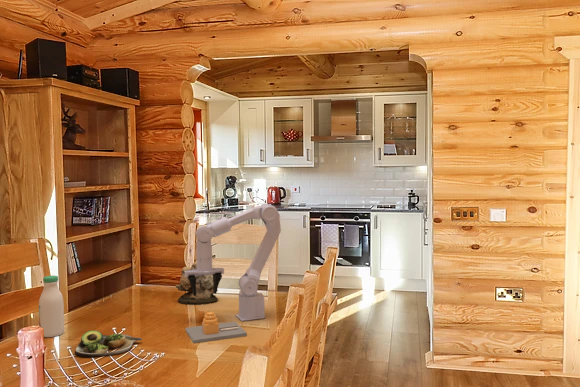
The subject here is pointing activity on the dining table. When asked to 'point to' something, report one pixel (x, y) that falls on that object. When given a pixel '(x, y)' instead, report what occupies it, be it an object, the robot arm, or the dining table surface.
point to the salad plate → (103, 344)
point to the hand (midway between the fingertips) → (204, 294)
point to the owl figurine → (202, 288)
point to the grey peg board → (225, 332)
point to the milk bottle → (51, 308)
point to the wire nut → (210, 324)
